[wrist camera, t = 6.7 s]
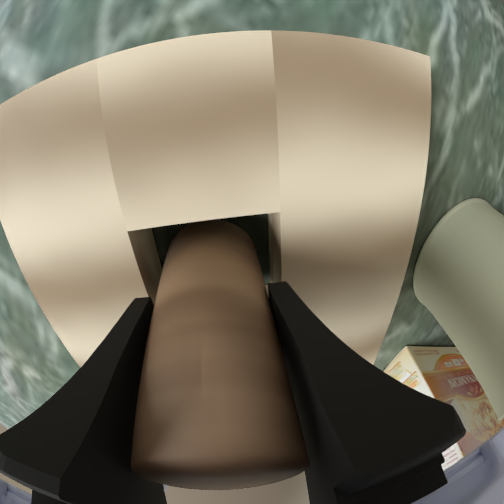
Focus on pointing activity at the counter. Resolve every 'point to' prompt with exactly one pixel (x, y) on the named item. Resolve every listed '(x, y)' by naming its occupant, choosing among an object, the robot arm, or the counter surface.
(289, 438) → the peg
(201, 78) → the socket block
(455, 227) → the can
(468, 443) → the coffeecake box
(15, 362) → the counter surface
